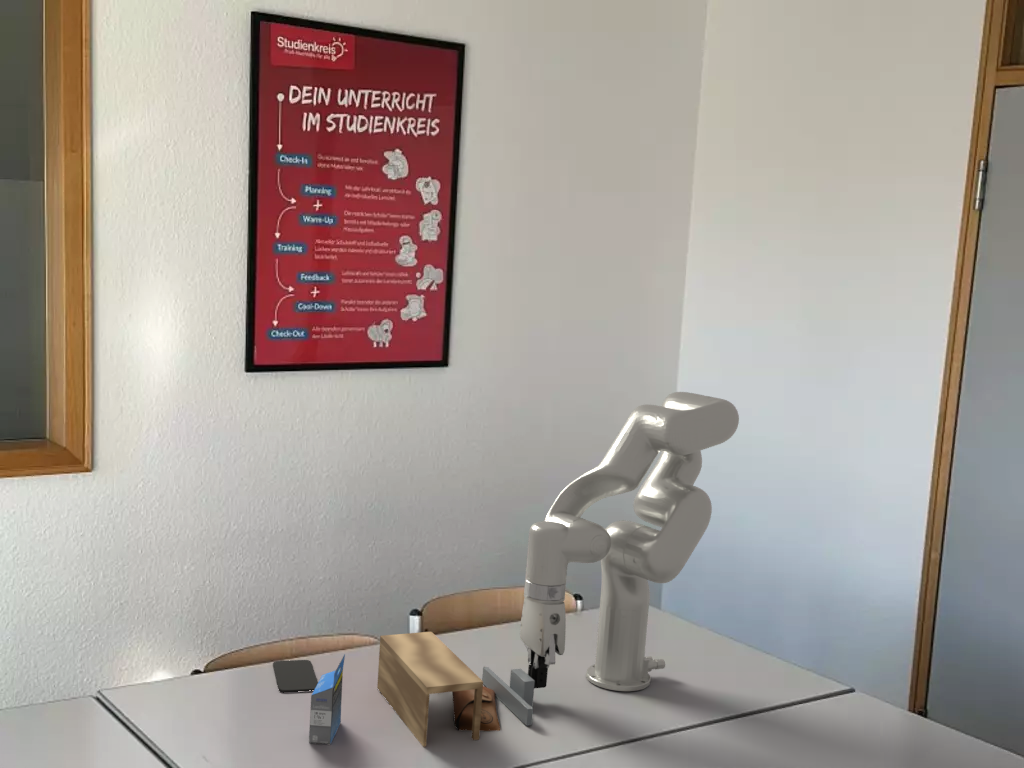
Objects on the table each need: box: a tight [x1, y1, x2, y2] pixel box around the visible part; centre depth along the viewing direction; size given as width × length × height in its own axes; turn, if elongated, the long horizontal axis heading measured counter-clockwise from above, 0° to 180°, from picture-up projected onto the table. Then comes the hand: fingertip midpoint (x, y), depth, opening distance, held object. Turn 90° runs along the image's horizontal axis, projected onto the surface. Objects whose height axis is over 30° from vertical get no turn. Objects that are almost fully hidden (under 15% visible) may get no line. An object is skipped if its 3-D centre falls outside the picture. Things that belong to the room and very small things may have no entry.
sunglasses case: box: [451, 685, 501, 732], centre depth 200 cm, size 18×7×7 cm, turn 5°
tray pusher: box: [481, 666, 535, 727], centre depth 204 cm, size 4×20×5 cm, turn 25°
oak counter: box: [376, 631, 484, 748], centre depth 196 cm, size 10×25×10 cm, turn 24°
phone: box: [272, 659, 319, 694], centre depth 209 cm, size 7×1×15 cm
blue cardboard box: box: [308, 653, 346, 745], centre depth 185 cm, size 9×4×12 cm, turn 178°
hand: (536, 686), depth 205 cm, fingers closed
